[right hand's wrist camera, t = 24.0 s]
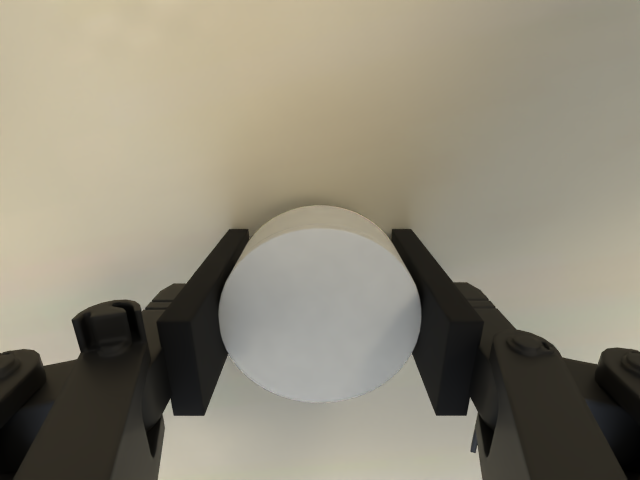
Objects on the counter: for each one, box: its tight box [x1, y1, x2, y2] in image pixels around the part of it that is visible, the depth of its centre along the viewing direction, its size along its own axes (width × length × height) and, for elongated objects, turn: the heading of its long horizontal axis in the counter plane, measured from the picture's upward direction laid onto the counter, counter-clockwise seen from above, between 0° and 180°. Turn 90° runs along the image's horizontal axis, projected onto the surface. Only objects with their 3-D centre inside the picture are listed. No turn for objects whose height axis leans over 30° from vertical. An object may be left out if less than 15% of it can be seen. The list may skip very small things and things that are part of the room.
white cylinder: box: [218, 205, 422, 403], centre depth 11 cm, size 6×6×2 cm
